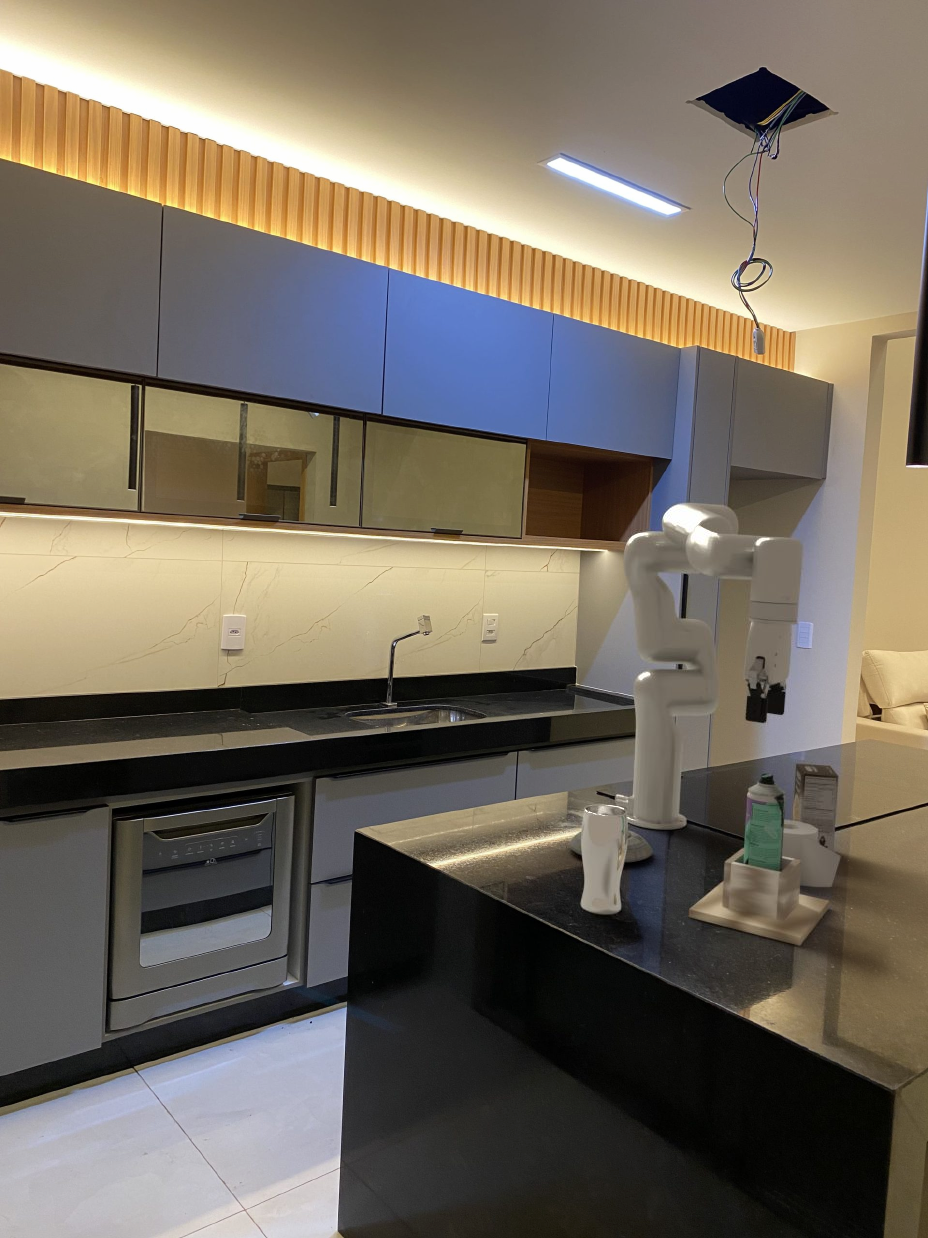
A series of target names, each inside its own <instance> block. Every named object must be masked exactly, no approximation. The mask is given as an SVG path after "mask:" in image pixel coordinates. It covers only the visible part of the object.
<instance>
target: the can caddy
mask: <svg viewBox="0 0 928 1238" xmlns="http://www.w3.org/2000/svg"><path fill="white" fill-rule="evenodd" d="M801 861H802V860H799V859H794V858H789V857H784V856H782V864H781V872H779V871H774V870H769V869H765V868H760V867H756V866H751V865H746V864H743V862H744V847H742V848H740V850H738V851H736V852H735V853H734V854H733V855H731V857H729V858H727V859H726V860H725V861H724V867H723V870H724V871H723V881H722V882H720V883H719V884H718V885H716V886H715V887H714V888H713V889H711V891H710V892H708V893H706V895H704V896H703V897H702V898H701V899H700V900H698V901H697V902H696V903H695V904H693V906H691V907H690V908H689V909H688V918H691V919H695V920H699V921H703V922H707V923H711V924H715V925H717V926H722V927H727V928H729V929H734V930H737V931H742V932H744V933H749V934H754V935H757V936H760V937H766V938H768V939H773V940H777V941H779V942H780V941H781V942H785V943H788V944H791V945H796V946H801V945H802V944H803V942H804V941H805V940H806V939H807V937H808V936H809V935H810V933H812V931H813V930H814V928H815V927H816V926H817V925H818V923H819V922H820V920H821V919H822V918H823V916H824V915H825V914H826V913H827V912H828V910H829V909H830V900H828V899H827V900H826V899H823V898H819V897H814V896H810V895H805V894H801V893H800V891H801V890H800V889H801V885H800V876H801Z"/></svg>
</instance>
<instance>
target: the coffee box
mask: <svg viewBox="0 0 928 1238" xmlns="http://www.w3.org/2000/svg"><path fill="white" fill-rule="evenodd" d="M839 778H840V777H839V775H838V774H837V773H836V771H835V769H833V767H832V766H831V765H824V764H822V765H821V764H810V763H809V764H808V763H795V777H794V791H793V792H794V793H793V794H794V795H793V806H792V807H793V808H792V809H793V810H792V820H795V821H799V822H803V823H807V824H810V825H812V826H814V827H815V828H817V829H818V842H817V843H818V844H820V845H822V846H824V847H825V848H827V849H829V850H831V851H833V852H834V846H835V833H836V832H835V830H836V820H837V819H836V817H837V803H838V794H839V793H838V791H839V790H838V789H839Z"/></svg>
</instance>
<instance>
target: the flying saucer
mask: <svg viewBox="0 0 928 1238" xmlns="http://www.w3.org/2000/svg"><path fill="white" fill-rule="evenodd" d="M568 846H569V848H570V849H571V851H573V852H575V853H576V854H577V855H581V856H582V850H581V831H579V832H577V833H576V834H575V835H574V836H573V837H572V838H571V839H570V841H569V842H568ZM653 852H654V850H653V849H652V847H651V845H650V844H649V842H648V840H646V839H645V838H644V837H643V836H641V835H640V834H638V833H637V832H635V831H632V830H630V829H628V842H627V851H626V856H625V861H624V863H633V862H638V861H642V860H645V859H648V858H650V857H651V856H652V855H653V854H654V853H653Z"/></svg>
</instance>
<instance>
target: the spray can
mask: <svg viewBox="0 0 928 1238" xmlns="http://www.w3.org/2000/svg"><path fill="white" fill-rule="evenodd" d="M760 776H761V777H760V779H759V780H758V781H757V783H756V784H754V785H753V786H750V787H748V792H747V794H746V795H747V796H746V813H745V829H744V830H745V831H744V847H743V848H744V862H743V864H746V865H751V866H756V867H760V868H765V869H769V870H774V871H779V872H781V864H782V847H783V831H784V819H785V812H786V796H785V795H786V792H785V791H784V790H782V789H781V788H780V787H779V786H778V784H777V783H776V782H775V781H774V774H772V773H762V774H761V775H760Z"/></svg>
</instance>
